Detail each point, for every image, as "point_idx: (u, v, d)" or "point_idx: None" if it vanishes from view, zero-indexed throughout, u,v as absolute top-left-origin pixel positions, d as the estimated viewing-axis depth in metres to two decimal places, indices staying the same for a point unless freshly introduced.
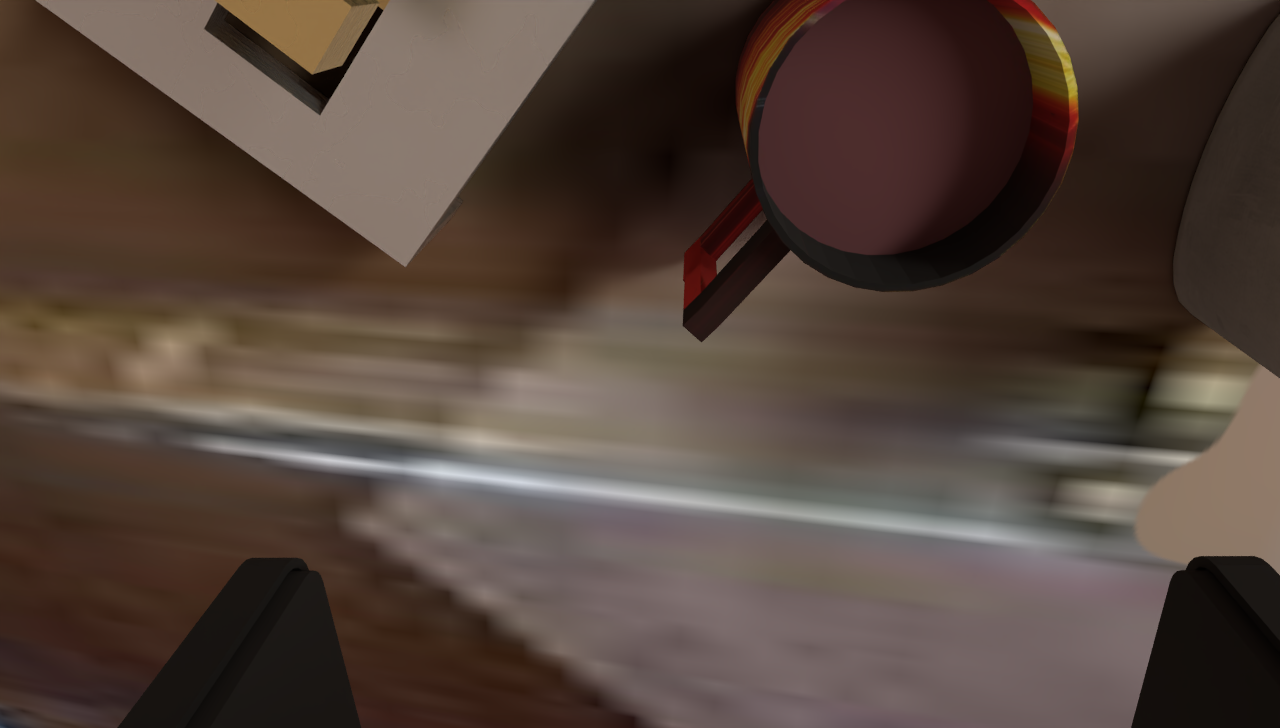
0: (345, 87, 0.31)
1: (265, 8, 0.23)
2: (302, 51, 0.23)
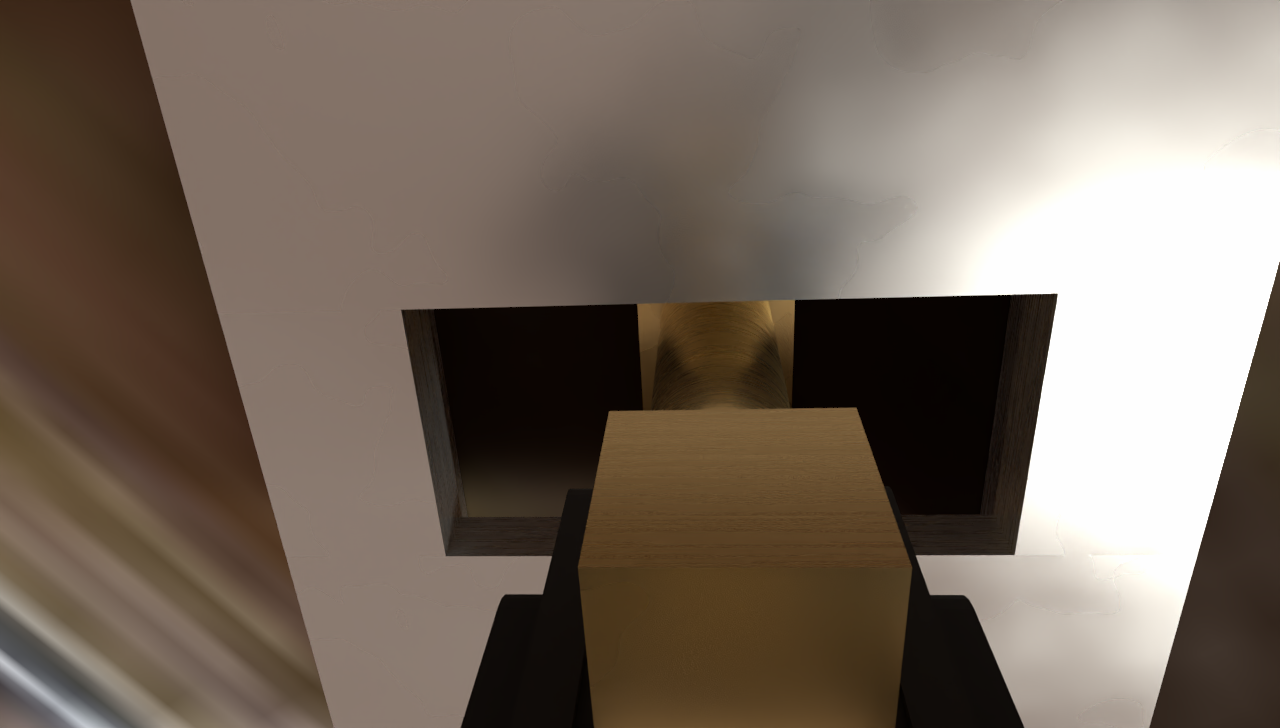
0: (528, 566, 0.15)
1: None
2: None
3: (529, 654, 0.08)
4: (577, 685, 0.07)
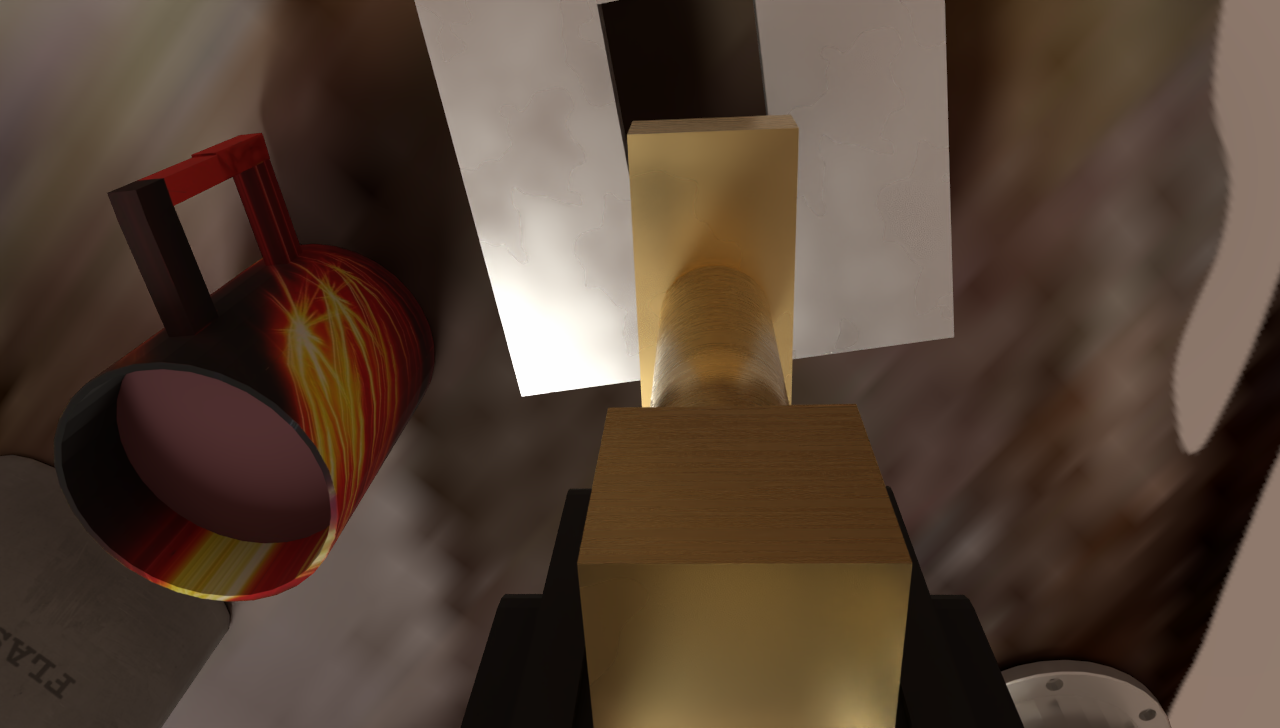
0: (598, 55, 0.27)
1: None
2: None
3: (529, 654, 0.08)
4: (579, 685, 0.07)
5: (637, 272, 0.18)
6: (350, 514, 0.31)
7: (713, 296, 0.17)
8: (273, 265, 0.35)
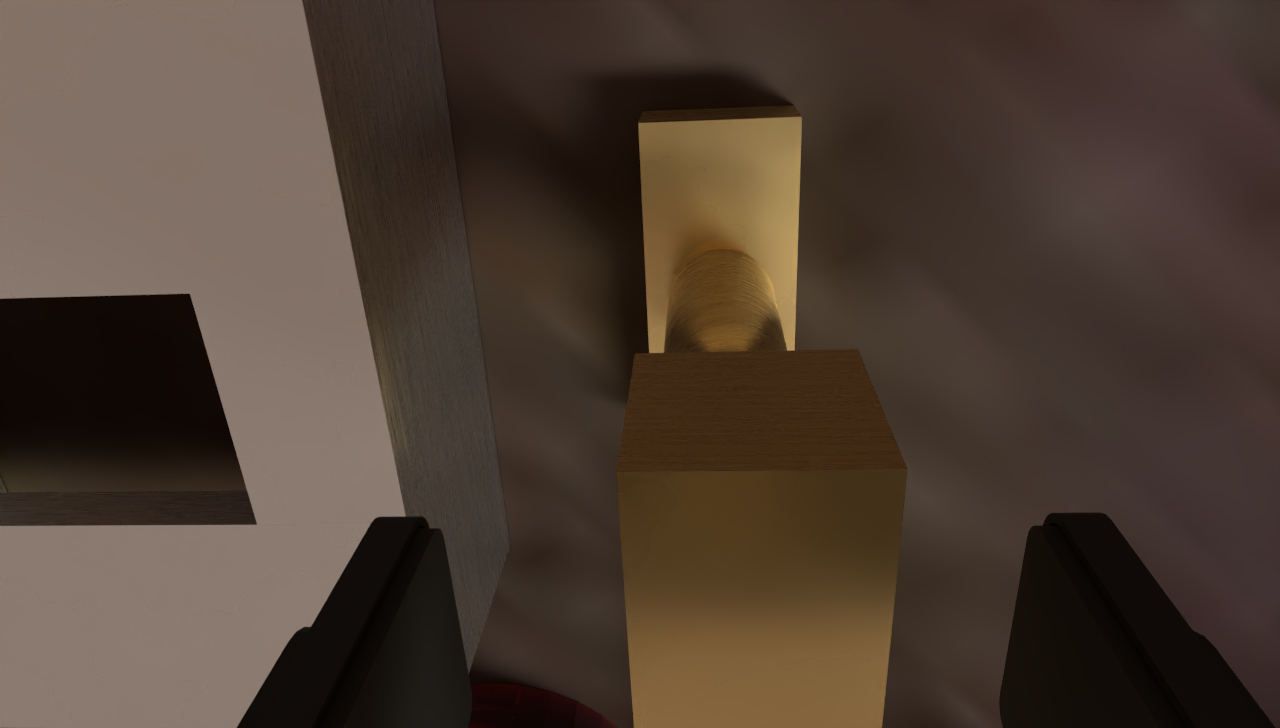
0: None
1: None
2: None
3: (269, 699, 0.07)
4: None
5: (647, 255, 0.19)
6: None
7: (720, 276, 0.17)
8: None
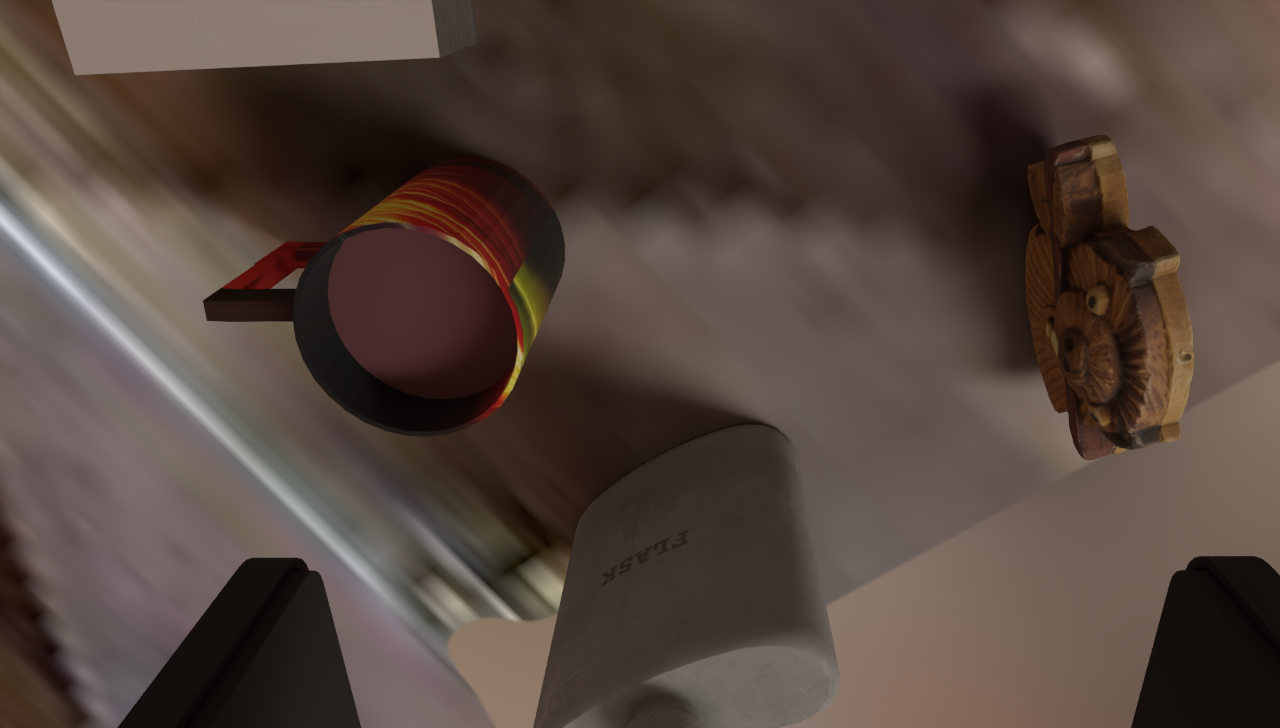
0: None
1: None
2: None
3: None
4: None
5: None
6: (474, 230, 0.35)
7: None
8: None
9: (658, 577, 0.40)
